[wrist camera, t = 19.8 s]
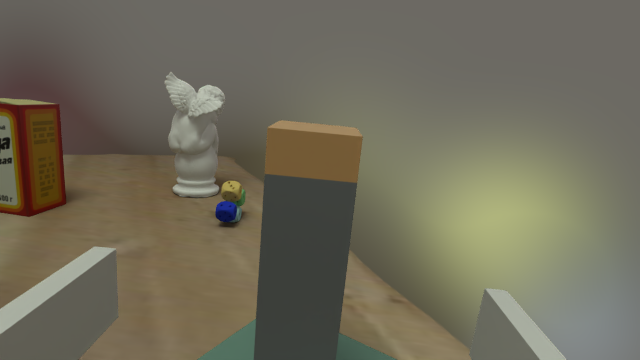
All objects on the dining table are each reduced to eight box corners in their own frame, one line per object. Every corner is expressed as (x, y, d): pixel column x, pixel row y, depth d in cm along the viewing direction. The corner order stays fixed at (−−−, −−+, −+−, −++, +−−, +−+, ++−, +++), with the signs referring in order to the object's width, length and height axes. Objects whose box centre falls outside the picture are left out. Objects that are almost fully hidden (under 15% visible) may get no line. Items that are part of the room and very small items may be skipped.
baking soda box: (-30, 207, 54) (-44, 95, 50) (13, 196, 60) (2, 95, 56) (29, 216, 53) (18, 102, 49) (66, 203, 59) (59, 101, 55)
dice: (231, 230, 55) (233, 188, 53) (214, 228, 55) (215, 187, 53) (245, 213, 62) (246, 176, 61) (229, 211, 62) (231, 174, 61)
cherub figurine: (209, 183, 79) (214, 77, 74) (244, 199, 71) (251, 80, 66) (152, 190, 70) (153, 69, 65) (184, 208, 62) (187, 72, 57)
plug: (250, 410, 24) (267, 127, 19) (264, 355, 28) (280, 120, 24) (328, 418, 23) (362, 136, 19) (329, 362, 28) (356, 127, 24)
